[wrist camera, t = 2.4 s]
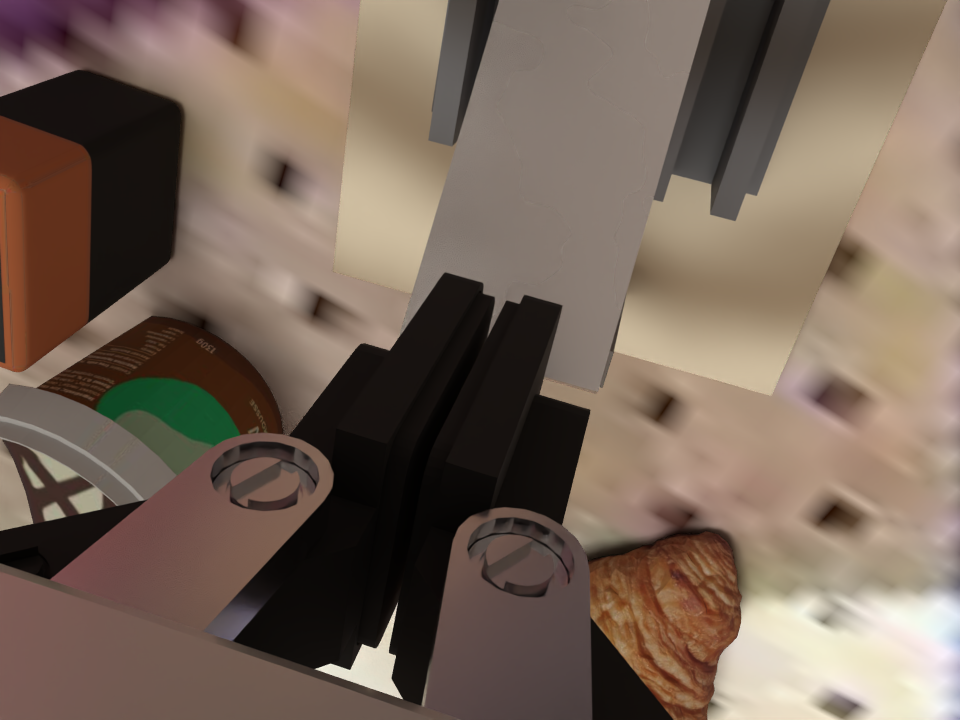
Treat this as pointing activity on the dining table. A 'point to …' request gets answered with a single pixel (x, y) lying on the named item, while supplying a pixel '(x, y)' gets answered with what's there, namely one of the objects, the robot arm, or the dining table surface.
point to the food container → (131, 417)
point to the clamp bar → (563, 163)
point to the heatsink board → (686, 170)
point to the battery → (79, 205)
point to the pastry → (670, 615)
